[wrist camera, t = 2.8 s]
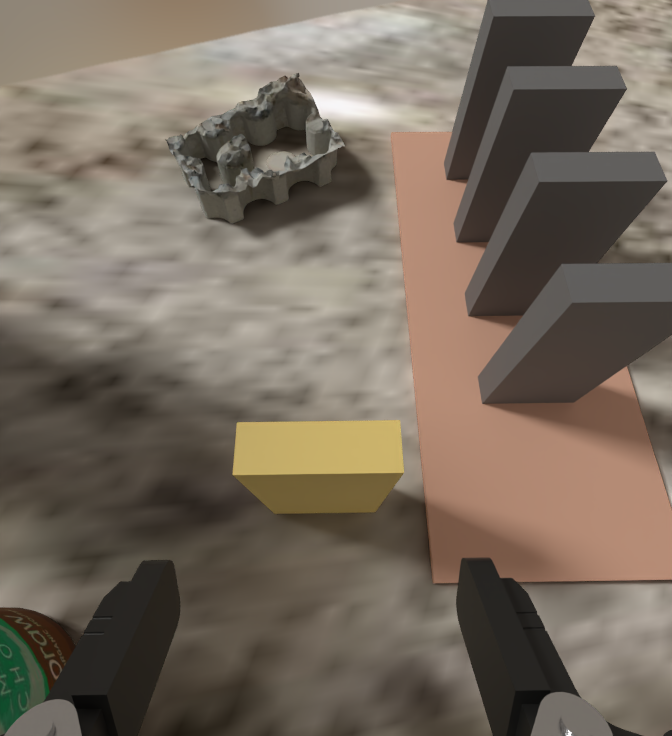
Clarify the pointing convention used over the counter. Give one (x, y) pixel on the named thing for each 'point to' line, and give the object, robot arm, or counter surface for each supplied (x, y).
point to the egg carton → (258, 126)
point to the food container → (28, 661)
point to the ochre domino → (319, 464)
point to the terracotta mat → (513, 423)
